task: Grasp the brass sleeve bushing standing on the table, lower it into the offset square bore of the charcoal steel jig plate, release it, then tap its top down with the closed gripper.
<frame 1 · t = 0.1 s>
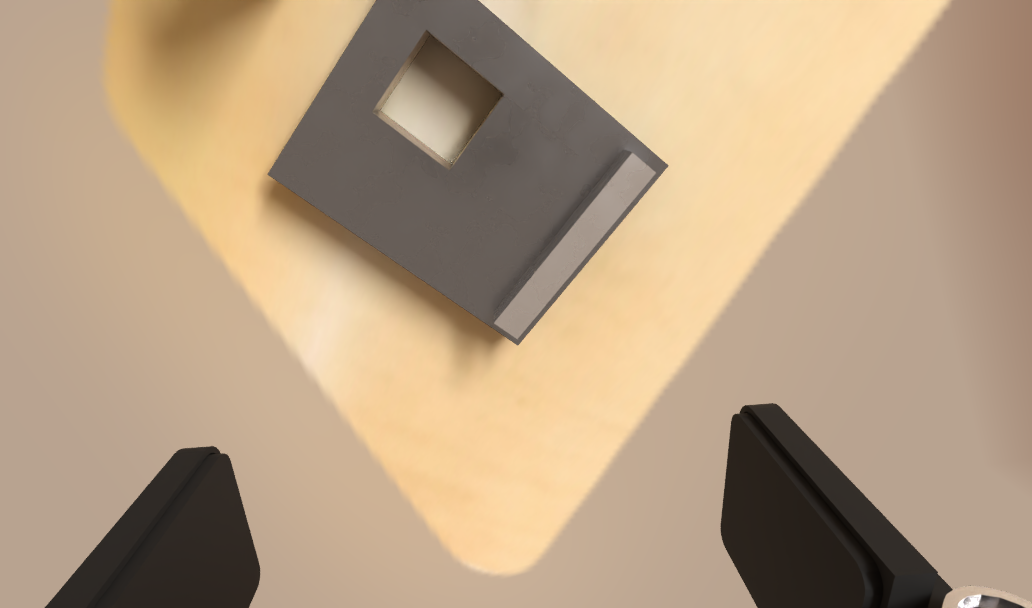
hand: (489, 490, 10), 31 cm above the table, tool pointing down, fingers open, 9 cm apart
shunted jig: (472, 164, 39), on the table
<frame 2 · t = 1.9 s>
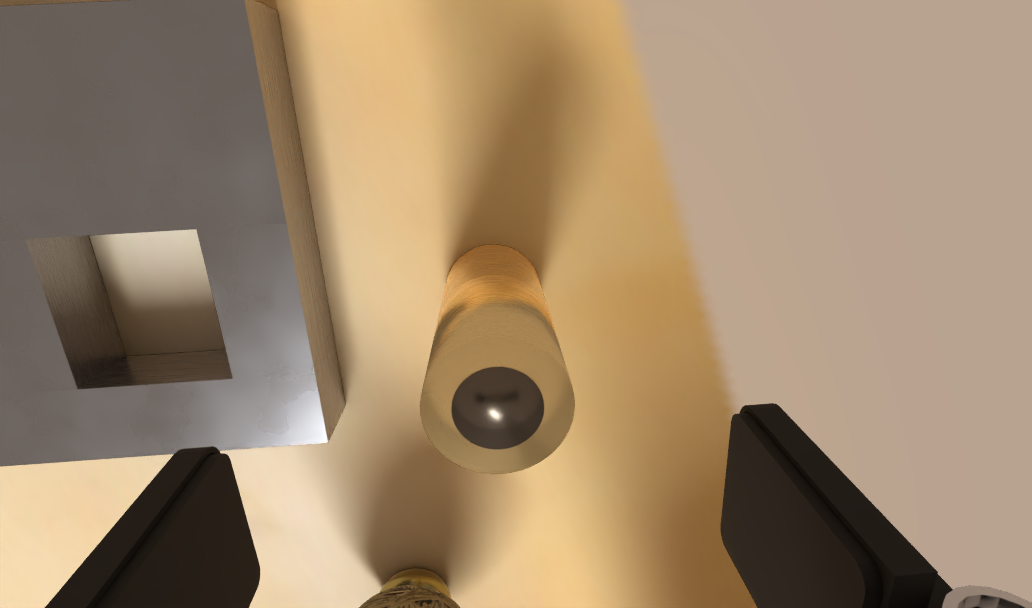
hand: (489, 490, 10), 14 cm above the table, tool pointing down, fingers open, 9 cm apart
brass bushing: (492, 290, 24), on the table
cup: (417, 586, 29), on the table
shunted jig: (62, 246, 22), on the table
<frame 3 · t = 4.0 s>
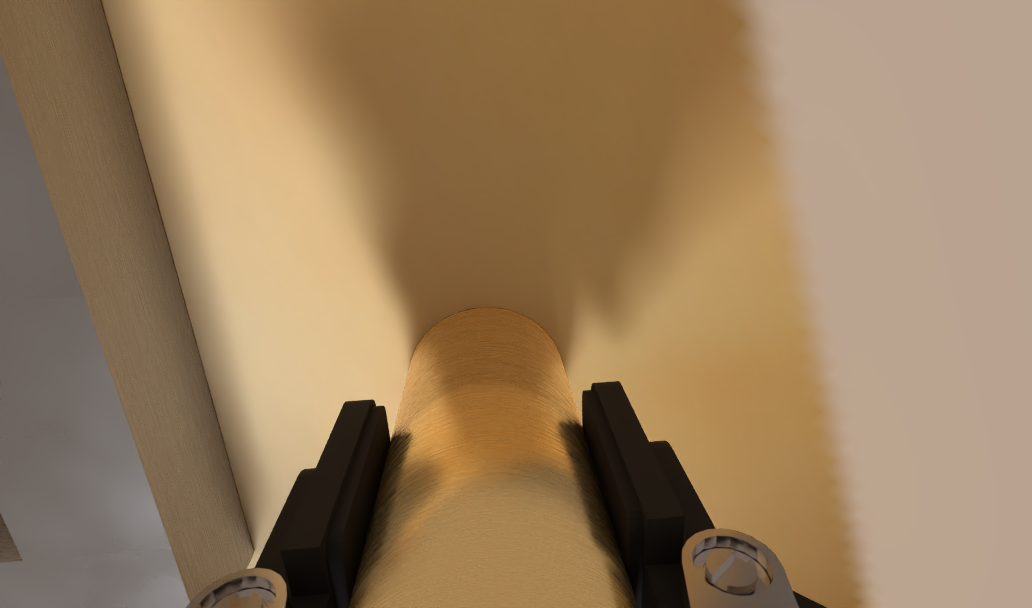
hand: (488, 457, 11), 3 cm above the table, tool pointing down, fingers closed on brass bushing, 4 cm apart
brass bushing: (486, 379, 15), on the table, touching gripper
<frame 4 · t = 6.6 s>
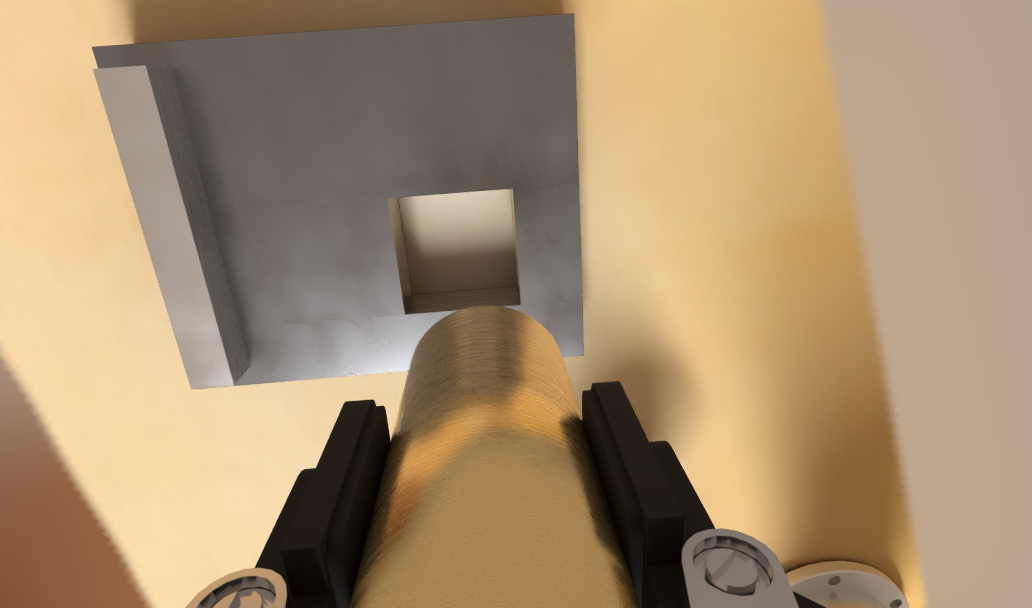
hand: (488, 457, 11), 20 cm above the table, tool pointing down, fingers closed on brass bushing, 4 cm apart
brass bushing: (487, 377, 14), point 16 cm above the table, touching gripper
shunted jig: (378, 207, 29), on the table
when the fingers open (4 cm above the table, at t = 9.5 s): brass bushing stays where it is, resting in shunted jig.
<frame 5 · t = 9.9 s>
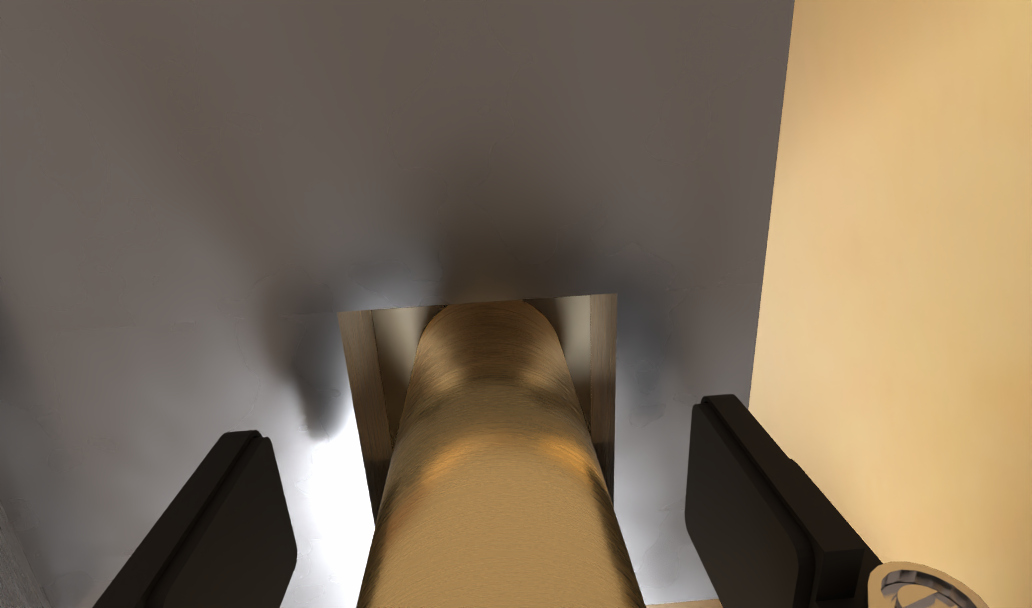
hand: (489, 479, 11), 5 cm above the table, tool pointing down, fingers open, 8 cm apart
brass bushing: (489, 362, 15), resting in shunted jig
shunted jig: (327, 304, 15), on the table
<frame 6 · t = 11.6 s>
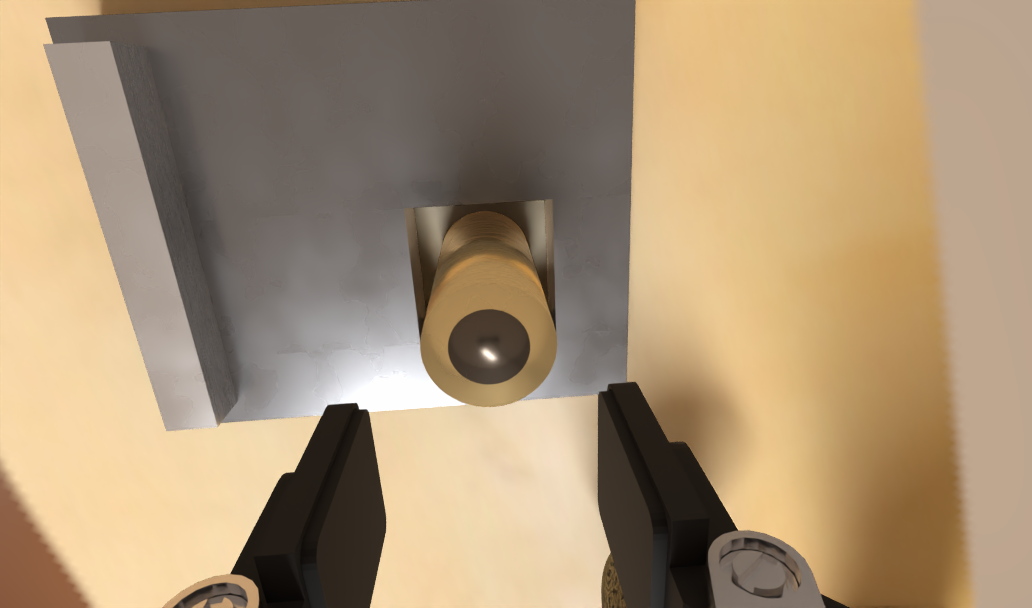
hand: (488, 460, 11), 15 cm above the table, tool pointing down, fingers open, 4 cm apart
brass bushing: (485, 254, 26), resting in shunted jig
cup: (642, 529, 32), on the table
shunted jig: (389, 216, 25), on the table
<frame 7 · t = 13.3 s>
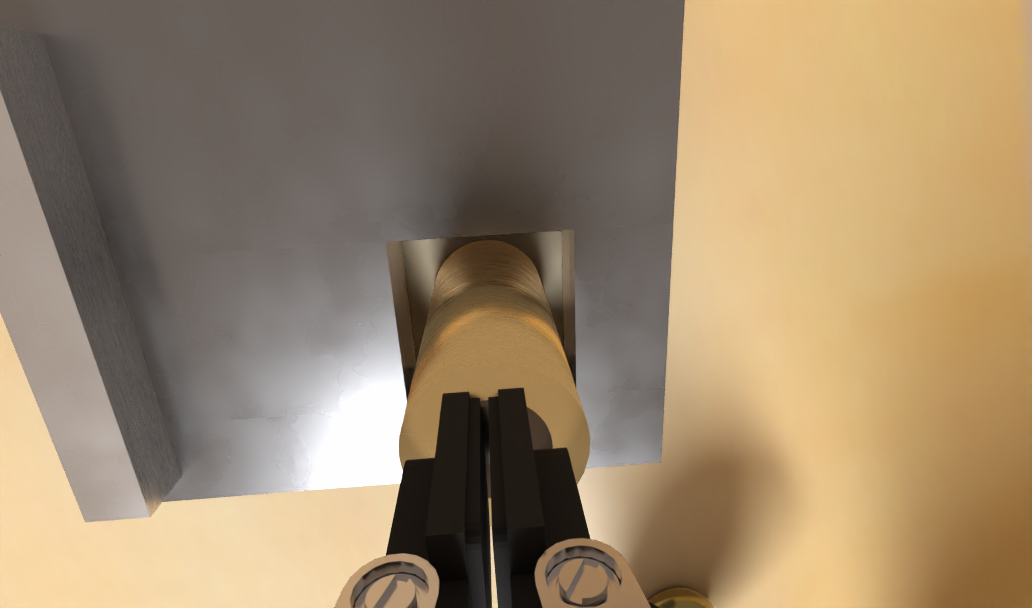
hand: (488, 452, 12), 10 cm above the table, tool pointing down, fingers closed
brass bushing: (488, 291, 21), resting in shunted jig, touching gripper
cup: (671, 605, 28), on the table
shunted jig: (370, 247, 20), on the table
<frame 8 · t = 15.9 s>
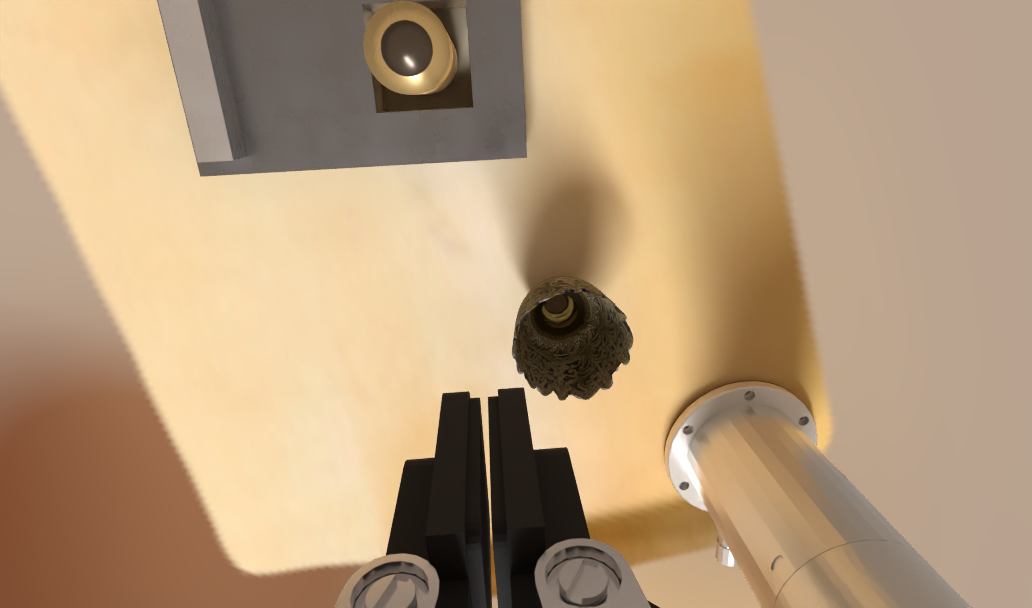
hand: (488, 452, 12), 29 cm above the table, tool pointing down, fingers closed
brass bushing: (425, 60, 35), resting in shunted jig
cup: (556, 301, 42), on the table
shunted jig: (355, 28, 35), on the table
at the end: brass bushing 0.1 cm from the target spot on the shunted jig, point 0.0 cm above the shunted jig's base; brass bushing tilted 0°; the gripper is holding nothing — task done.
